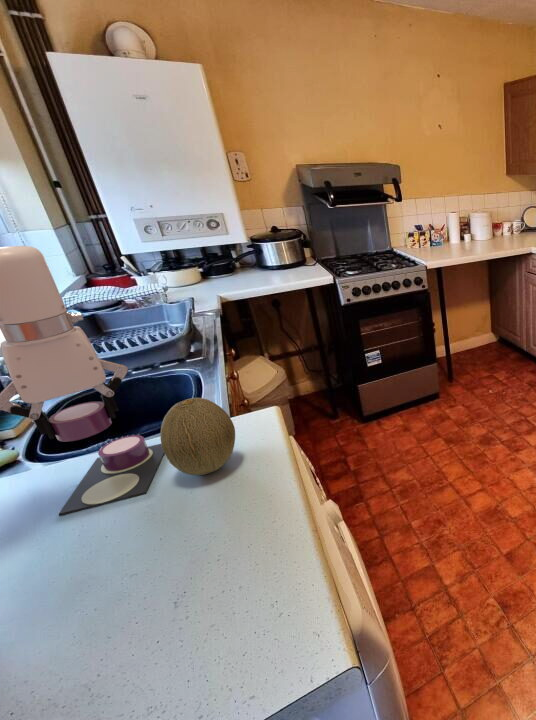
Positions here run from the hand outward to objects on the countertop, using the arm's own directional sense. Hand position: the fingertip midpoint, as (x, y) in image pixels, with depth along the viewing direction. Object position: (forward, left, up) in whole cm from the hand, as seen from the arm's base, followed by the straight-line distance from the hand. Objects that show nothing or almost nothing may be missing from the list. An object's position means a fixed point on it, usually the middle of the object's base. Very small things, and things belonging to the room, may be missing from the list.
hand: (83, 424), depth 74 cm
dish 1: (0, 0, -1) cm, 1 cm away
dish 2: (0, +9, -14) cm, 16 cm away
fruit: (+15, -1, -14) cm, 21 cm away
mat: (0, +5, -14) cm, 15 cm away
